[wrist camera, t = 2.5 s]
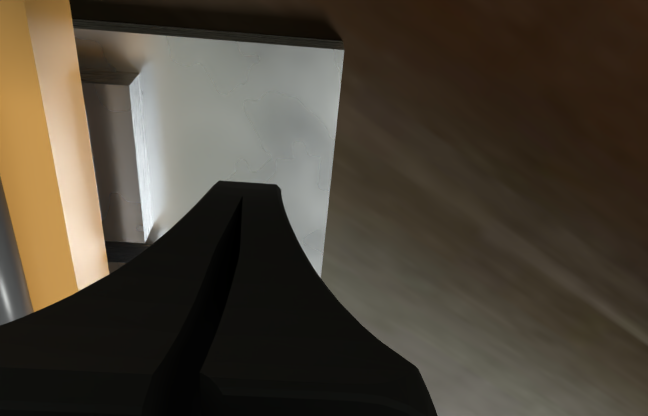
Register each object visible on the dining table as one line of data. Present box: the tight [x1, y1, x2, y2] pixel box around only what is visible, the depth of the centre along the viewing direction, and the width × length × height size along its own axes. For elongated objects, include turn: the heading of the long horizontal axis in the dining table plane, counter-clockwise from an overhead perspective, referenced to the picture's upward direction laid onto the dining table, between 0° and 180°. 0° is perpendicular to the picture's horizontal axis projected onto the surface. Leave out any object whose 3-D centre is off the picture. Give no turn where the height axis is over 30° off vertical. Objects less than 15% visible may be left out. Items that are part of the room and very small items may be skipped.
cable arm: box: [0, 0, 109, 325], centre depth 18 cm, size 20×4×4 cm, turn 175°
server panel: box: [72, 19, 344, 278], centre depth 21 cm, size 18×18×3 cm
